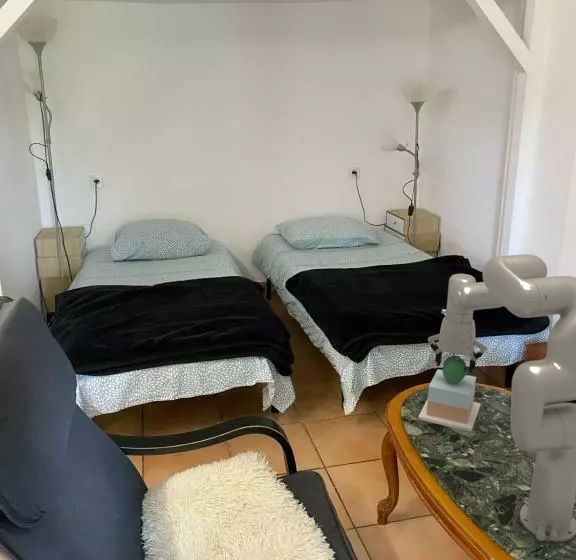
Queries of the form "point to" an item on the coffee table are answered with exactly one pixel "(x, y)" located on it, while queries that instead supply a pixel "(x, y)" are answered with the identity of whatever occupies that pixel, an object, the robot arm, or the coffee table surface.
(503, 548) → the coffee table surface
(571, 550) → the coffee table surface
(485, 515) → the coffee table surface
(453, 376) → the alien toy
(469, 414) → the brick tower
